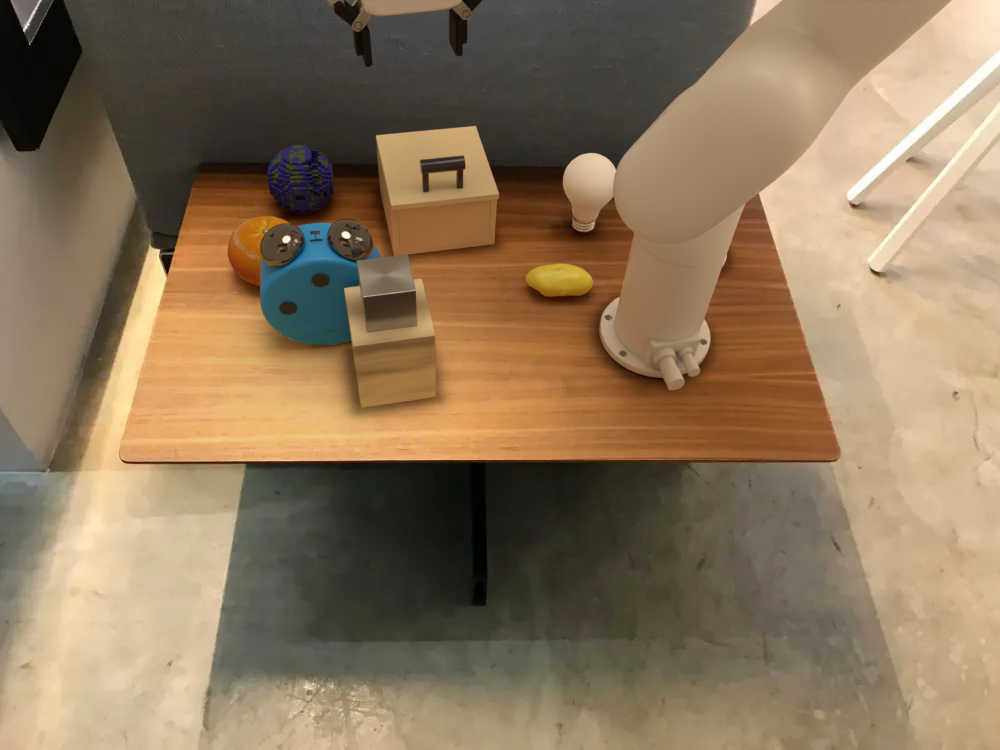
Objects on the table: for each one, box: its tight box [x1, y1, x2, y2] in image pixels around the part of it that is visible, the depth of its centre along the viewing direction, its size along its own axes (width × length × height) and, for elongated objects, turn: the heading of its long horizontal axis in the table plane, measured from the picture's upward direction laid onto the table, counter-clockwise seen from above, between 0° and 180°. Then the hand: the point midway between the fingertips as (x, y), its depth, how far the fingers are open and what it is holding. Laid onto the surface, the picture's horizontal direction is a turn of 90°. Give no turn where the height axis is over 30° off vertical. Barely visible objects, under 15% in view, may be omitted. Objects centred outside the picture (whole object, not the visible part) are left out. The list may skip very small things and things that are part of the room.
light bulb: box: [562, 152, 617, 233], centre depth 105 cm, size 7×7×11 cm
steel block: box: [356, 254, 417, 333], centre depth 83 cm, size 5×5×5 cm
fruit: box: [227, 215, 291, 287], centre depth 99 cm, size 8×8×8 cm
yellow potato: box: [524, 262, 594, 298], centre depth 100 cm, size 4×8×4 cm, turn 85°
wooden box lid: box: [375, 125, 500, 211], centre depth 101 cm, size 13×13×5 cm
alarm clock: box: [259, 218, 383, 346], centre depth 91 cm, size 13×6×15 cm, turn 100°
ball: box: [267, 144, 335, 215], centre depth 107 cm, size 8×8×8 cm
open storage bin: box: [375, 141, 498, 256], centre depth 106 cm, size 13×13×8 cm
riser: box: [344, 277, 437, 409], centre depth 89 cm, size 8×8×10 cm
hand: (411, 54), depth 90 cm, fingers open, 9 cm apart
